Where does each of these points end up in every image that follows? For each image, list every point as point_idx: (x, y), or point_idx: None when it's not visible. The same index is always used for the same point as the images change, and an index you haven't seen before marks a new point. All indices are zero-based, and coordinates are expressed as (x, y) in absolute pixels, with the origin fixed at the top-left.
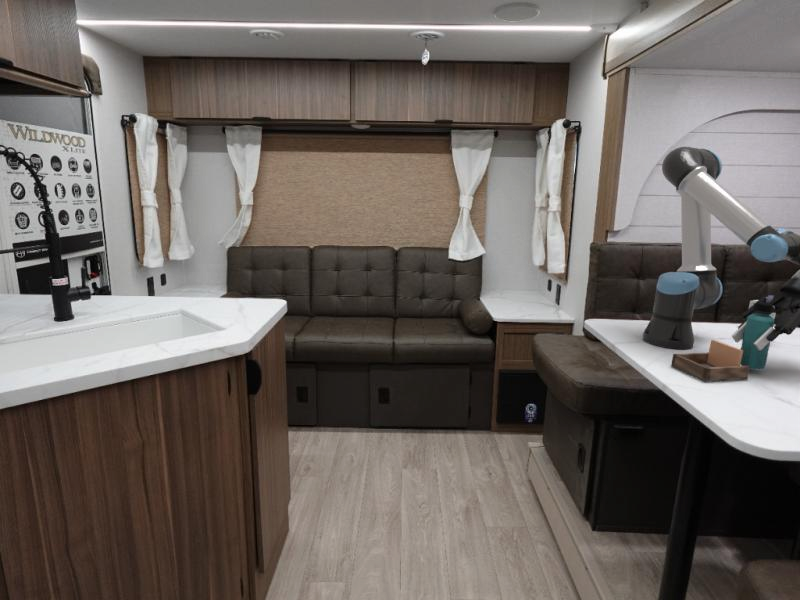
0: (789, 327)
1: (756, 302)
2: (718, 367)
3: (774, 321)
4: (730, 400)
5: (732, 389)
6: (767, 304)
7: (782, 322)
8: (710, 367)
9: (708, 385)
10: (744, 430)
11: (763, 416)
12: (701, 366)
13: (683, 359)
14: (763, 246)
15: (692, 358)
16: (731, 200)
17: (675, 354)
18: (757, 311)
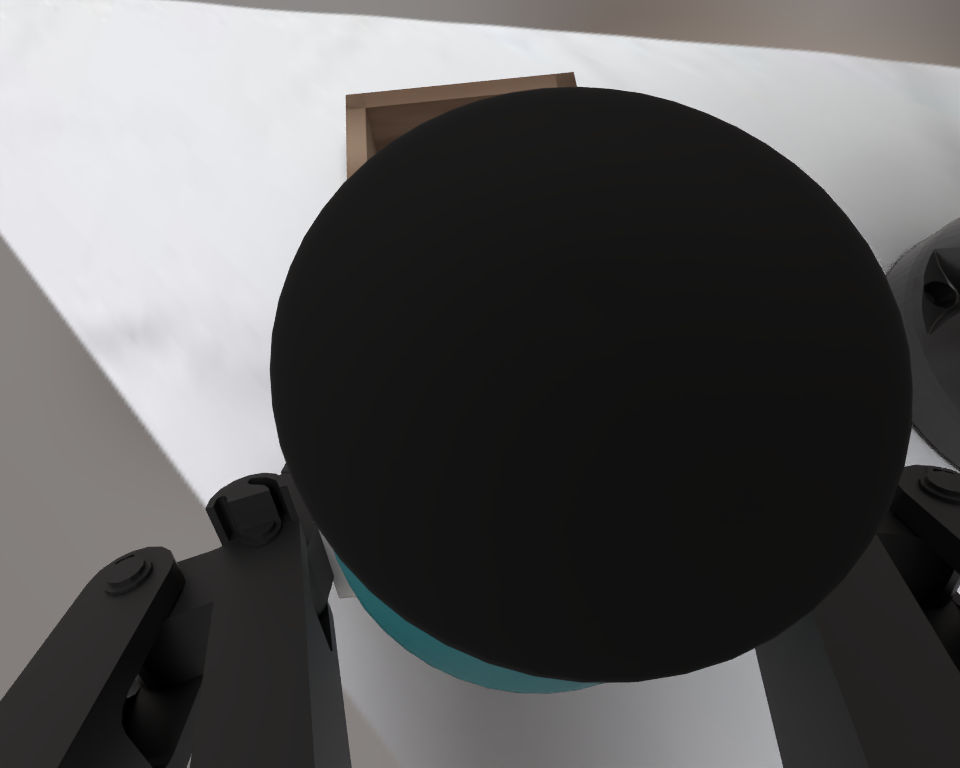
0: (172, 751)
1: (788, 168)
2: (359, 157)
3: (360, 600)
4: (190, 129)
5: (279, 210)
6: (374, 301)
7: (213, 656)
8: (363, 120)
9: (334, 146)
10: (8, 26)
11: (52, 143)
12: (383, 91)
13: (500, 84)
14: None
15: None
16: None
17: (565, 78)
18: (928, 667)
